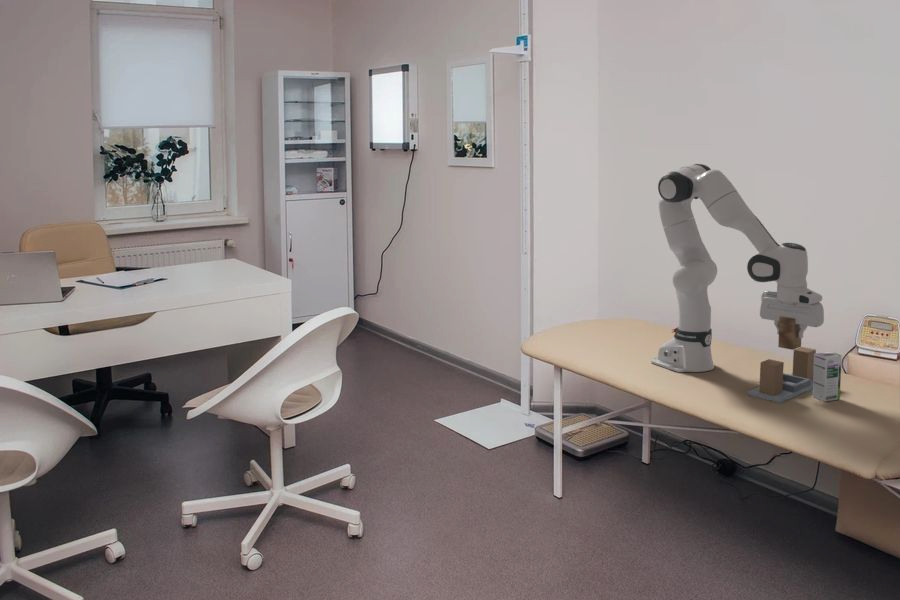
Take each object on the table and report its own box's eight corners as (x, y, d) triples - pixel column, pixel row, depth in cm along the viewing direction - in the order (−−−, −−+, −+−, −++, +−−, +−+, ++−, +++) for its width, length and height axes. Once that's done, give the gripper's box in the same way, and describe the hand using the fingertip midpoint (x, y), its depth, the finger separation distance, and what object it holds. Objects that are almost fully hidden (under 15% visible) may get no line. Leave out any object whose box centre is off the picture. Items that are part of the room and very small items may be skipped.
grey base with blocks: (748, 394, 267) (749, 361, 264) (793, 375, 284) (795, 344, 281) (779, 402, 258) (781, 368, 256) (825, 382, 275) (827, 350, 273)
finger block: (778, 347, 268) (779, 317, 266) (786, 344, 271) (787, 314, 269) (792, 349, 265) (794, 319, 263) (801, 346, 268) (802, 316, 266)
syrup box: (824, 402, 257) (827, 357, 254) (811, 396, 263) (813, 352, 260) (840, 400, 259) (842, 355, 256) (826, 394, 264) (829, 350, 261)
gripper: (756, 291, 271) (755, 332, 273) (817, 299, 255) (815, 343, 258) (767, 288, 274) (765, 329, 277) (827, 296, 259) (825, 339, 261)
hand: (790, 336), depth 267 cm, fingers closed on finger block, 5 cm apart
